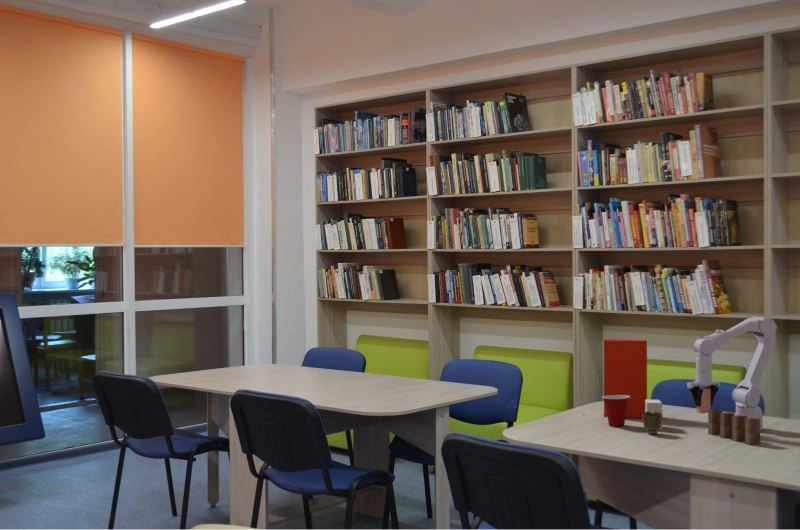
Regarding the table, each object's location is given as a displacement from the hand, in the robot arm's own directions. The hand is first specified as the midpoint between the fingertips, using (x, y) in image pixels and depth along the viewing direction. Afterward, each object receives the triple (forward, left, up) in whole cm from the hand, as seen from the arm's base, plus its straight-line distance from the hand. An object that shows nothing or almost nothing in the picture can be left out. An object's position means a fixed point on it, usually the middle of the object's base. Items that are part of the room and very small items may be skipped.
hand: (703, 405), depth 310 cm
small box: (+14, -12, -10) cm, 21 cm away
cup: (+22, -3, -10) cm, 24 cm away
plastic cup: (+25, -21, -10) cm, 34 cm away
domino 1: (0, 0, -3) cm, 3 cm away
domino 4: (0, +18, -10) cm, 20 cm away
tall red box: (+9, -36, -10) cm, 38 cm away
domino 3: (0, +12, -10) cm, 15 cm away
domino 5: (0, +24, -10) cm, 26 cm away
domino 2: (0, +6, -10) cm, 11 cm away
